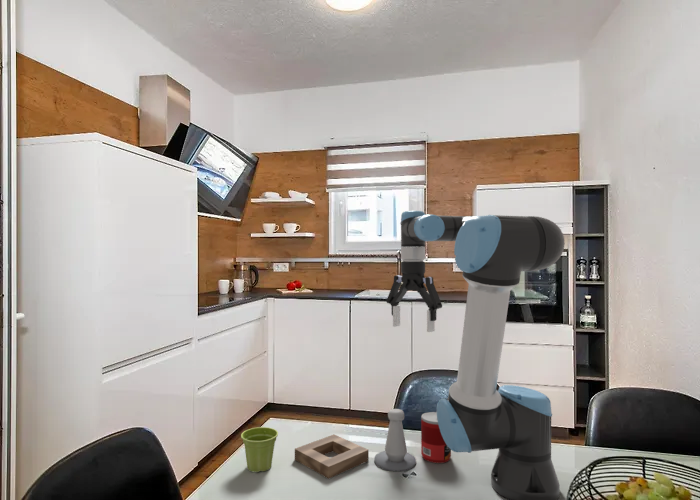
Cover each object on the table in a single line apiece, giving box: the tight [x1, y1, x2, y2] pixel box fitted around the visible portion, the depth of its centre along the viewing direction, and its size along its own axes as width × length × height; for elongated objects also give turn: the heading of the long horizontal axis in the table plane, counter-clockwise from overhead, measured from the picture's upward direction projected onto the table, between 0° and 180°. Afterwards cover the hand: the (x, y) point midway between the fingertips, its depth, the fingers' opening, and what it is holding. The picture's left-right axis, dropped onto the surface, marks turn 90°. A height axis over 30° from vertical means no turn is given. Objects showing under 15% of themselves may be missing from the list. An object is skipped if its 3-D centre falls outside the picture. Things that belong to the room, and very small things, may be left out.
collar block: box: [294, 434, 370, 480], centre depth 122 cm, size 14×14×3 cm
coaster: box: [373, 450, 417, 472], centre depth 122 cm, size 11×11×1 cm
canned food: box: [420, 411, 452, 464], centre depth 124 cm, size 8×8×11 cm
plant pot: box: [240, 426, 279, 473], centre depth 118 cm, size 9×9×9 cm
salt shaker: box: [384, 408, 408, 463], centre depth 122 cm, size 6×6×13 cm
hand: (413, 328), depth 143 cm, fingers open, 13 cm apart
